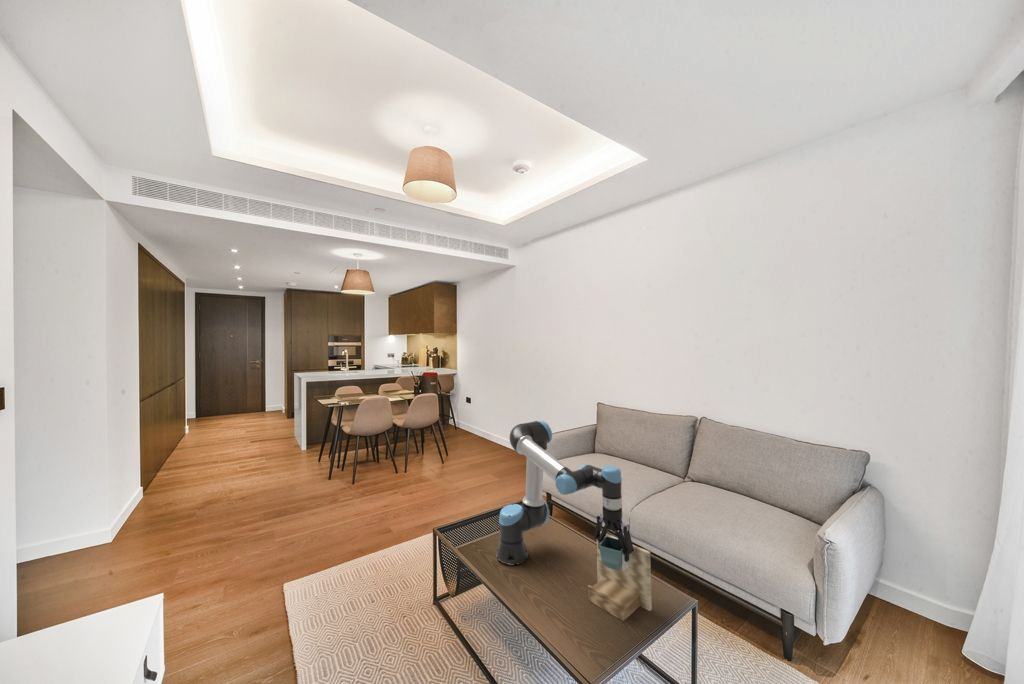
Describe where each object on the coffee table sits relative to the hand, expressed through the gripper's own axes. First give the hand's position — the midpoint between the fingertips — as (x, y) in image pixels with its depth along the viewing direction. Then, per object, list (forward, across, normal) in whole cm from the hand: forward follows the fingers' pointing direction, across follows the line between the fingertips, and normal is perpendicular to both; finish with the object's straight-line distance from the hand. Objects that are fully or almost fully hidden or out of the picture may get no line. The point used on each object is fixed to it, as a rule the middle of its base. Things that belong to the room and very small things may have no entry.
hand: (613, 563), depth 147 cm
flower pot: (+1, 0, 0) cm, 1 cm away
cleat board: (+15, 0, 0) cm, 15 cm away
